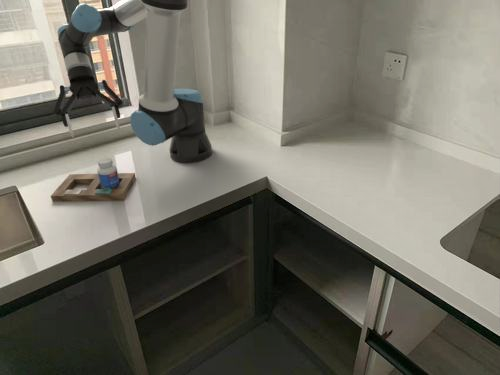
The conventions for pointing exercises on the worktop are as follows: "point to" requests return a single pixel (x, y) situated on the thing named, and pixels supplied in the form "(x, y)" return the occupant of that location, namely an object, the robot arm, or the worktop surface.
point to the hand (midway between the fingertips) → (95, 131)
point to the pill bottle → (107, 174)
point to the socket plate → (92, 188)
